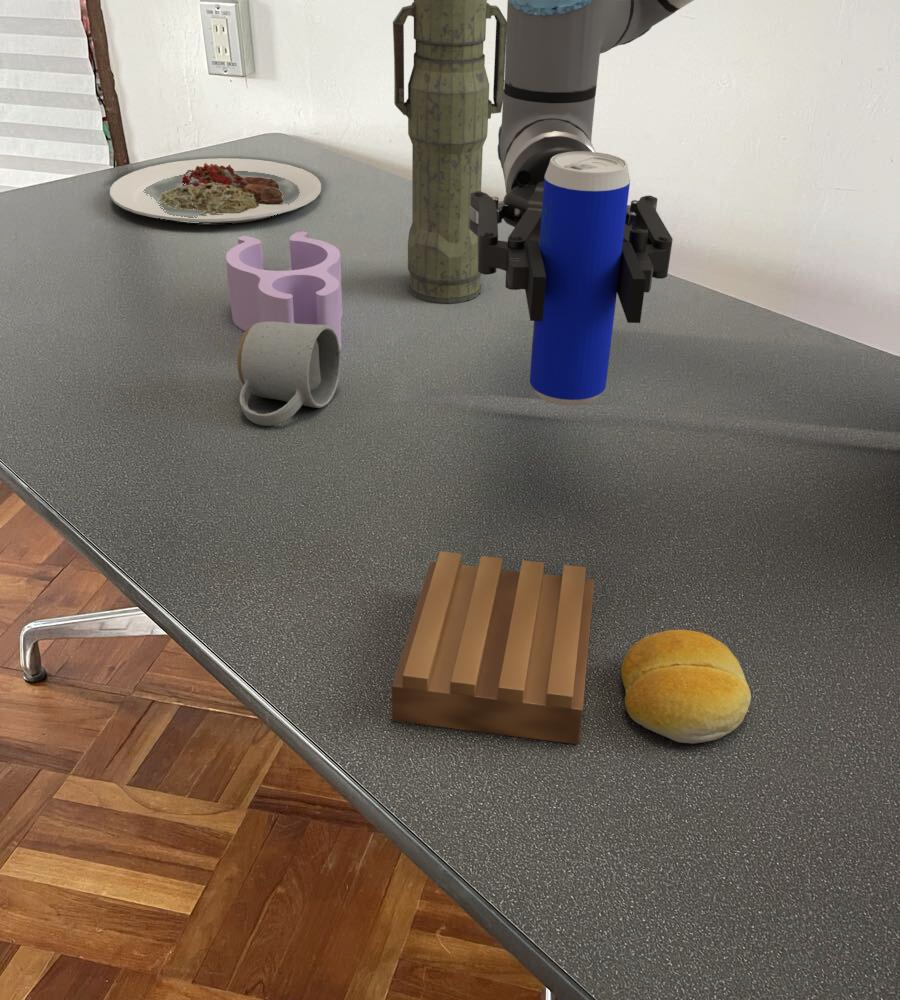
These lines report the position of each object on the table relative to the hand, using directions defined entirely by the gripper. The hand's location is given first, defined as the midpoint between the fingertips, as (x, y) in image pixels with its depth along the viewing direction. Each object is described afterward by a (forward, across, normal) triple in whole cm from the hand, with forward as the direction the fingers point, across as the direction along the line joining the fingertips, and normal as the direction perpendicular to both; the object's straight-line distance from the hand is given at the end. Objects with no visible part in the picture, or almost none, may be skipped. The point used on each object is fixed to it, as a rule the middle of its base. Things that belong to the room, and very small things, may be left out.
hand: (587, 299), depth 64 cm
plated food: (-98, +41, -24) cm, 109 cm away
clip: (-53, +25, -24) cm, 63 cm away
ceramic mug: (-33, +23, -24) cm, 47 cm away
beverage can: (-5, 0, -9) cm, 10 cm away
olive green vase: (-64, +8, -24) cm, 69 cm away
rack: (+5, +4, -24) cm, 25 cm away
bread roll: (+9, -8, -24) cm, 27 cm away
